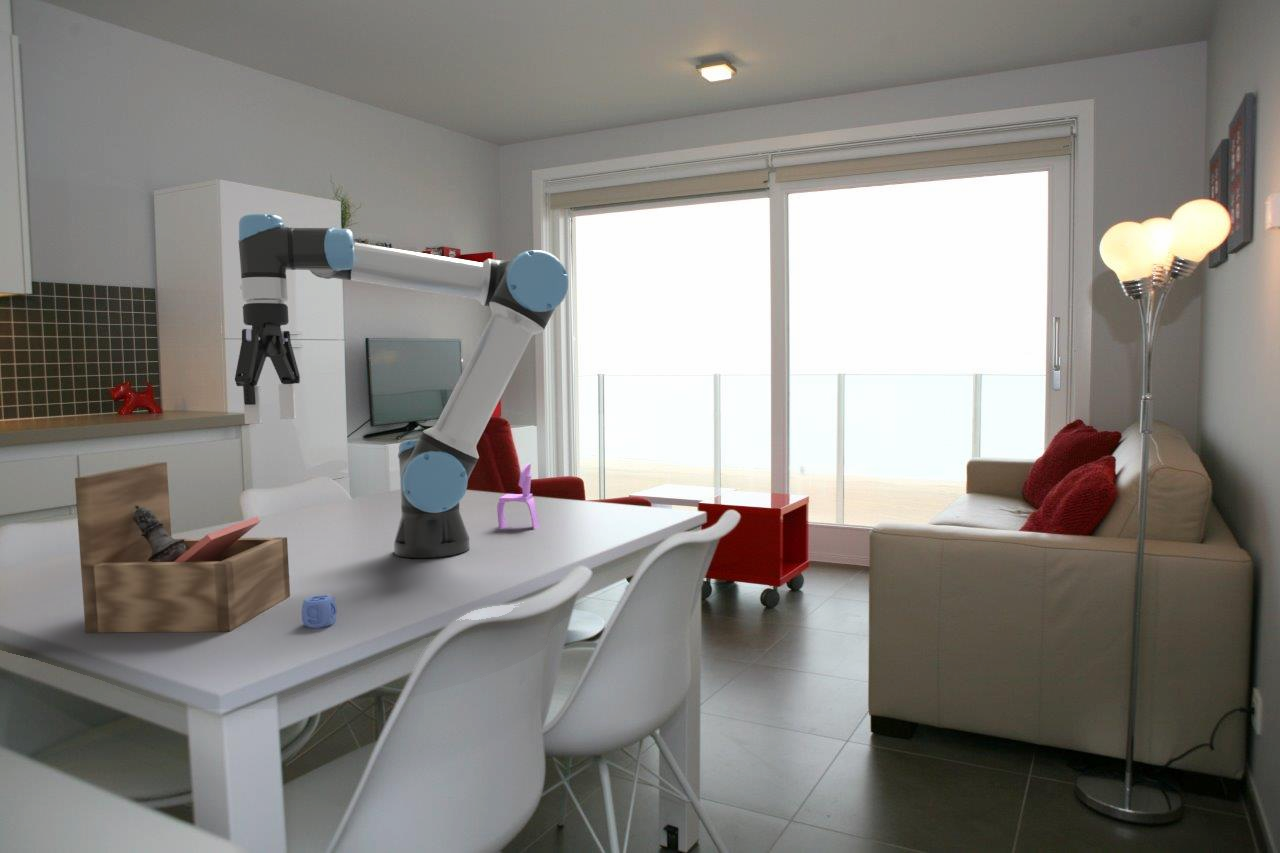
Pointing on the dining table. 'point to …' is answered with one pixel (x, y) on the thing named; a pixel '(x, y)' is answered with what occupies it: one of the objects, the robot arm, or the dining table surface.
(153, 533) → the salt shaker
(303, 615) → the decorative dice
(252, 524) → the trapdoor
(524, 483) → the toy chair
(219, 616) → the wooden box
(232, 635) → the dining table surface
